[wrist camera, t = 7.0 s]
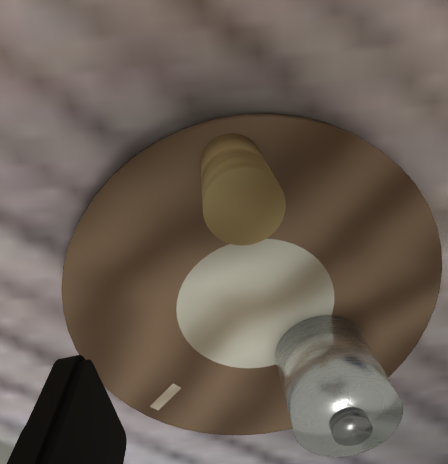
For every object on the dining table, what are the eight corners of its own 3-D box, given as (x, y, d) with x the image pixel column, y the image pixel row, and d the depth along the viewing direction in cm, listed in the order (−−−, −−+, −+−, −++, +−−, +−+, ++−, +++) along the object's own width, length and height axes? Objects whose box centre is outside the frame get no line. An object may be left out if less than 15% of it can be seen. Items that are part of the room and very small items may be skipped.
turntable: (502, 270, 29) (598, 343, 22) (264, 460, 37) (280, 558, 30) (235, 7, 21) (256, -6, 14) (-4, 327, 28) (-67, 421, 22)
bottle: (383, 344, 30) (431, 422, 24) (318, 396, 32) (348, 481, 26) (321, 299, 28) (358, 373, 22) (256, 359, 30) (273, 442, 24)
